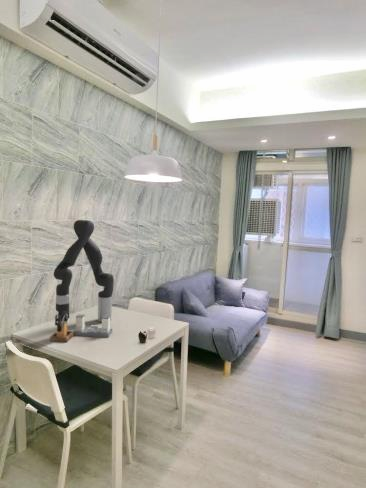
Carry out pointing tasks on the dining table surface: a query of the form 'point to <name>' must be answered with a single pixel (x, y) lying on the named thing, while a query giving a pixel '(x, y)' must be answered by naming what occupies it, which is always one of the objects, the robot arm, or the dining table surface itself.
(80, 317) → the fuse block
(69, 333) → the tray
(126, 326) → the dining table surface
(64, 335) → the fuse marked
